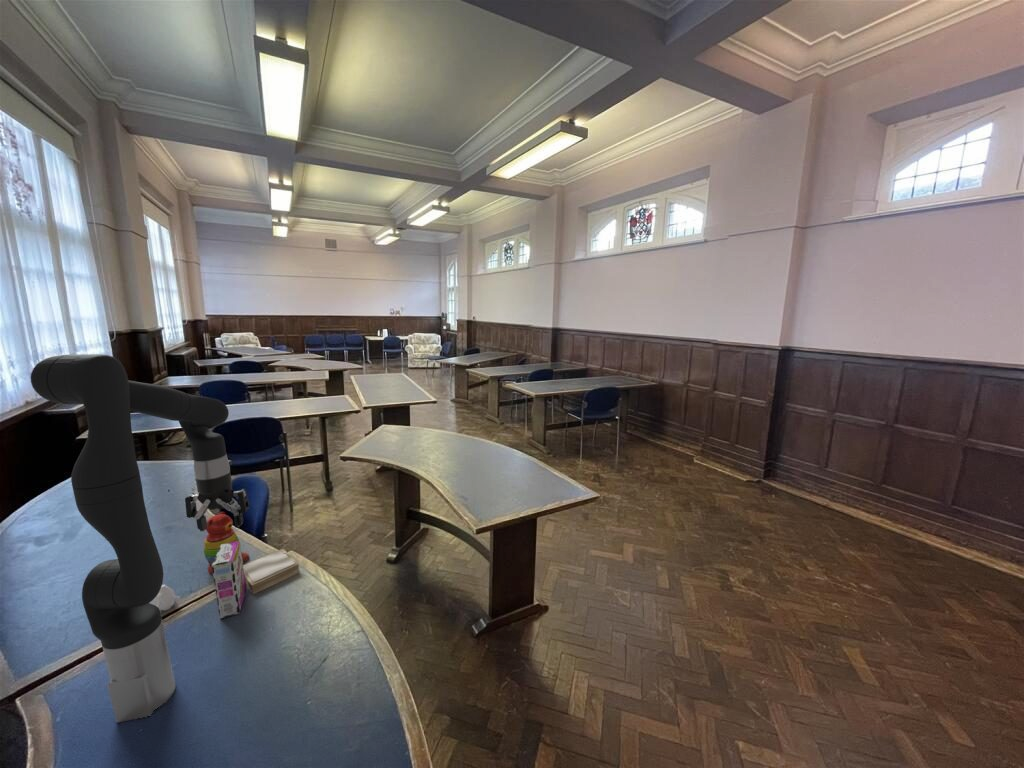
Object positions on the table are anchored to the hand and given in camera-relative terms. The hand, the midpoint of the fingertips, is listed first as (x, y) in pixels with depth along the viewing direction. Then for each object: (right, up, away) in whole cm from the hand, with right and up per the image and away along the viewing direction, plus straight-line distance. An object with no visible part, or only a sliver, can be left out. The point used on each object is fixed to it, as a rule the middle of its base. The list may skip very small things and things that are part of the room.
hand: (221, 527), depth 110 cm
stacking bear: (-14, -20, +22) cm, 33 cm away
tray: (+3, -21, +17) cm, 27 cm away
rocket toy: (-18, -24, +3) cm, 30 cm away
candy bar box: (0, -24, +5) cm, 24 cm away
